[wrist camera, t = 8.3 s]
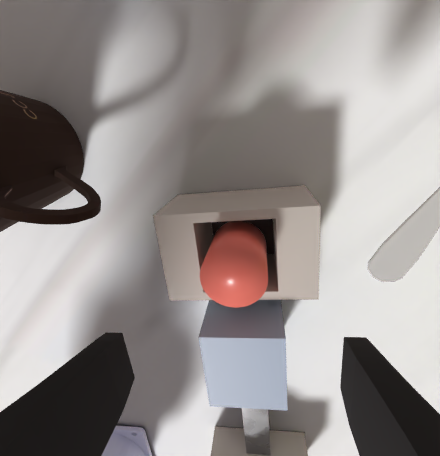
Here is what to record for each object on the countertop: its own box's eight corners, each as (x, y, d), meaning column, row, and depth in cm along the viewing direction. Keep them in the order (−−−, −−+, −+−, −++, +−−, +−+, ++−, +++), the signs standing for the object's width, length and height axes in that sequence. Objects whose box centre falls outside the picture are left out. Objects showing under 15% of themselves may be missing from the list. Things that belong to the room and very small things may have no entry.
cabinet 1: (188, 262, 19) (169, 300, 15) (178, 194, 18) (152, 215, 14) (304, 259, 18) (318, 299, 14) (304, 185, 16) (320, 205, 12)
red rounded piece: (215, 270, 16) (204, 307, 13) (209, 222, 15) (195, 249, 12) (267, 269, 15) (269, 307, 12) (264, 219, 14) (266, 246, 11)
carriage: (221, 337, 21) (209, 406, 16) (214, 281, 19) (198, 337, 14) (280, 338, 20) (287, 410, 15) (278, 279, 18) (285, 338, 13)
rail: (247, 428, 25) (246, 453, 23) (230, 261, 19) (227, 276, 17) (269, 430, 24) (270, 455, 22) (259, 260, 19) (259, 275, 17)
